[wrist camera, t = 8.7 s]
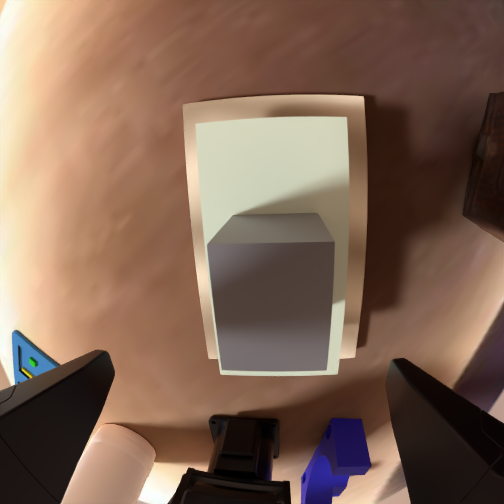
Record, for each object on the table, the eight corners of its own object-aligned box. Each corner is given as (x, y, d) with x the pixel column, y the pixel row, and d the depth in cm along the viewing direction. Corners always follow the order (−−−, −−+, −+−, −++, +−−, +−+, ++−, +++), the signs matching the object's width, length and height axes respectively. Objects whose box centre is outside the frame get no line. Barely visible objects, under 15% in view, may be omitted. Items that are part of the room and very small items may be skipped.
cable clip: (337, 477, 28) (340, 516, 22) (301, 476, 28) (300, 516, 23) (375, 417, 24) (386, 465, 19) (331, 416, 25) (337, 467, 19)
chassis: (352, 350, 22) (362, 383, 18) (211, 351, 23) (199, 383, 19) (359, 99, 17) (377, 85, 13) (187, 106, 18) (165, 96, 14)
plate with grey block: (341, 120, 14) (378, 96, 8) (335, 362, 18) (348, 437, 12) (202, 126, 14) (151, 109, 8) (224, 362, 18) (201, 435, 13)
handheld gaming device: (15, 397, 30) (10, 330, 25) (19, 392, 31) (15, 326, 26) (57, 430, 30) (61, 373, 26) (61, 425, 32) (66, 367, 27)
